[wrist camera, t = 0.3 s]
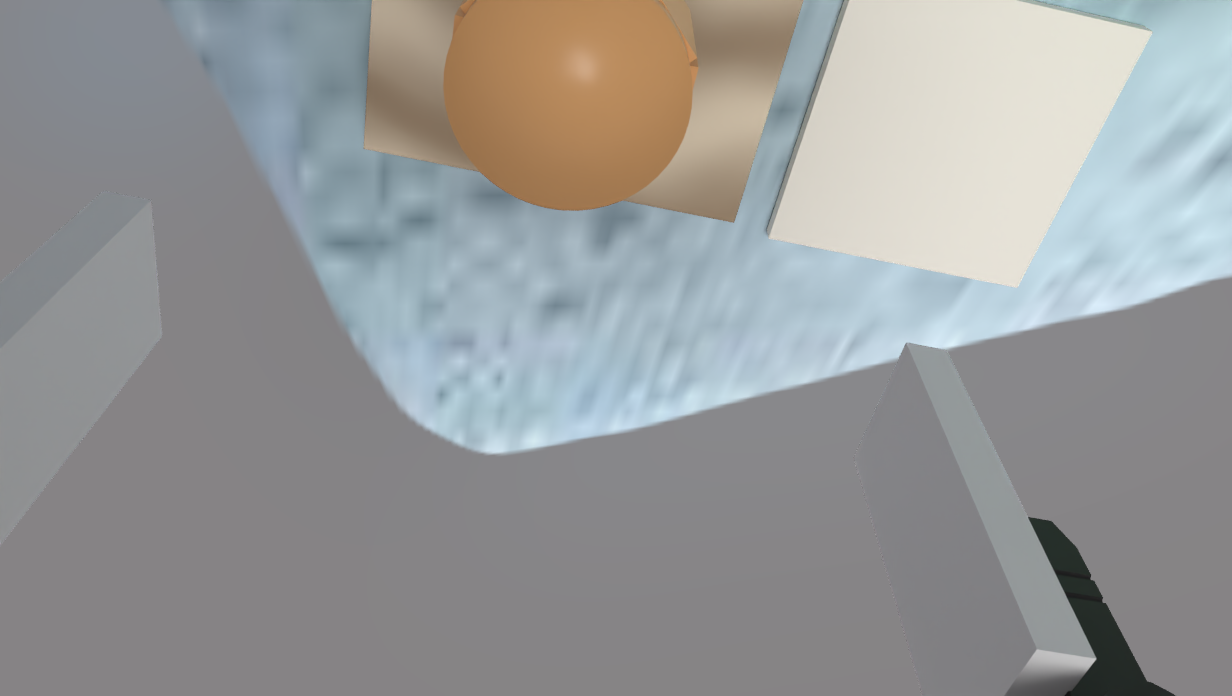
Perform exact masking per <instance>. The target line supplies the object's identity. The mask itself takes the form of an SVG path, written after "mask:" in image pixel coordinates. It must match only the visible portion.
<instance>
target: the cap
mask: <svg viewBox="0 0 1232 696" xmlns="http://www.w3.org/2000/svg"><path fill="white" fill-rule="evenodd" d="M698 68H699V67H698V60H697V53H696V46H695V39H694V33H693V26H692V19H691V13H690V9H689V7H688V6H687V4H686V2H685V1H684V0H463V2H462V3H461V5H460V7H459V9H458V10H457V12H456V14H455V18H454V27H453V37H452V41H451V44H450V47H449V50H448V53H447V57H446V62H445V68H444V82H443V90H444V100H445V107H446V111H447V115H448V119H449V122H450V125H451V127H452V130H453V133H454V135H455V137H456V139H457V141H458V143H459V144H460V146H461V148H462V150H463V151H464V153H465V154H466V155H467V157H468V158H469V160H470V161H471V162H472V163H473V164H474V166H475V167H476V168H477V169H478V170H479V171H480V172H481V173H482V174H483V175H484V176H485V177H486V178H487V179H489V180H490V181H491V182H492V183H493V184H495V185H496V186H498V187H499V188H501V189H502V190H504V191H505V192H507V193H509V194H511V195H512V196H514V197H516V198H518V199H520V200H523V201H526V202H528V203H531V204H534V205H537V206H541V207H545V208H550V209H557V210H577V211H578V210H588V209H595V208H600V207H604V206H608V205H611V204H614V203H616V202H619V201H622V200H624V199H626V198H628V197H630V196H632V195H634V194H636V193H637V192H639V191H640V190H642V189H643V188H645V187H646V186H647V185H649V184H650V183H651V182H652V181H653V180H654V179H655V178H657V177H658V176H659V175H660V174H661V172H662V171H663V170H664V169H665V168H666V167H667V166H668V164H669V163H670V162H671V160H672V159H673V157H674V156H675V154H676V153H677V151H678V149H679V147H680V145H681V143H682V141H683V139H684V136H685V133H686V130H687V127H688V124H689V120H690V114H691V109H692V95H693V87H694V83H695V80H696V76H697V72H698Z"/></svg>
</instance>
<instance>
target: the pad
mask: <svg viewBox="0 0 1232 696" xmlns="http://www.w3.org/2000/svg"><path fill="white" fill-rule="evenodd" d="M1151 34H1152V31H1151V30H1149V29H1148V28H1146V27H1145V26H1142V25H1138V24H1133V23H1129V22H1125V21H1120V20H1116V19H1112V18H1107V17H1103V16H1099V15H1094V14H1090V13H1086V12H1081V11H1077V10H1073V9H1068V8H1064V7H1060V6H1055V5H1051V4H1047V3H1042V2H1038V1H1034V0H844V2H843V5H842V8H841V11H840V14H839V16H838V19H837V22H836V25H835V28H834V31H833V34H832V37H831V40H830V43H829V46H828V49H827V52H826V55H825V58H824V61H823V64H822V67H821V70H820V73H819V76H818V79H817V82H816V85H815V88H814V91H813V94H812V97H811V100H810V103H809V106H808V109H807V112H806V115H805V118H804V121H803V124H802V127H801V130H800V133H799V136H798V139H797V142H796V145H795V147H794V150H793V153H792V156H791V159H790V162H789V165H788V168H787V171H786V174H785V177H784V180H783V183H782V186H781V189H780V192H779V195H778V198H777V201H776V204H775V207H774V210H773V213H772V216H771V219H770V222H769V225H768V228H767V233H768V238H769V239H774V240H779V241H784V242H789V243H794V244H800V245H805V246H810V247H815V248H820V249H825V250H830V251H835V252H840V253H845V254H850V255H855V256H860V257H865V258H870V259H875V260H880V261H885V262H890V263H895V264H900V265H905V266H910V267H915V268H920V269H925V270H930V271H935V272H941V273H946V274H951V275H956V276H961V277H966V278H971V279H976V280H981V281H986V282H991V283H996V284H1001V285H1006V286H1011V287H1016V288H1017V287H1018V285H1019V284H1020V282H1021V280H1022V278H1023V276H1024V274H1025V272H1026V270H1027V268H1028V267H1029V265H1030V263H1031V261H1032V259H1033V257H1034V255H1035V253H1036V251H1037V250H1038V248H1039V246H1040V244H1041V242H1042V240H1043V238H1044V236H1045V234H1046V233H1047V231H1048V229H1049V227H1050V225H1051V223H1052V221H1053V219H1054V217H1055V216H1056V214H1057V212H1058V210H1059V208H1060V206H1061V204H1062V202H1063V200H1064V199H1065V197H1066V195H1067V193H1068V191H1069V189H1070V187H1071V185H1072V183H1073V182H1074V180H1075V178H1076V176H1077V174H1078V172H1079V170H1080V168H1081V166H1082V165H1083V163H1084V161H1085V159H1086V157H1087V155H1088V153H1089V151H1090V149H1091V148H1092V146H1093V144H1094V142H1095V140H1096V138H1097V136H1098V134H1099V132H1100V131H1101V129H1102V127H1103V125H1104V123H1105V121H1106V119H1107V117H1108V115H1109V114H1110V112H1111V110H1112V108H1113V106H1114V104H1115V102H1116V100H1117V98H1118V97H1119V95H1120V93H1121V91H1122V89H1123V87H1124V85H1125V83H1126V81H1127V80H1128V78H1129V76H1130V74H1131V72H1132V70H1133V68H1134V66H1135V64H1136V63H1137V61H1138V59H1139V57H1140V55H1141V53H1142V51H1143V49H1144V47H1145V46H1146V44H1147V42H1148V40H1149V38H1150V36H1151Z"/></svg>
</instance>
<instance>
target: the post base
mask: <svg viewBox="0 0 1232 696" xmlns="http://www.w3.org/2000/svg"><path fill="white" fill-rule="evenodd" d="M684 1H685V2H686V4H687V6H688V7H689V9H690V13H691V19H692V26H693V33H694V39H695V46H696V53H697V60H698V67H699V68H698V72H697V76H696V80H695V83H694V87H693V95H692V109H691V114H690V120H689V124H688V127H687V130H686V133H685V136H684V139H683V141H682V143H681V145H680V147H679V149H678V151H677V153H676V154H675V156H674V157H673V159H672V160H671V162H670V163H669V164H668V166H667V167H666V168H665V169H664V170H663V171H662V172H661V174H660V175H659V176H658V177H657V178H655V179H654V180H653V181H652V182H651V183H650V184H649V185H647V186H646V187H645V188H643V189H642V190H640V191H639V192H637V193H636V194H634V195H632V196H630V197H628V198H626V199H624V200H623V201H628V202H633V203H638V204H643V205H648V206H653V207H658V208H663V209H668V210H673V211H678V212H683V213H688V214H693V215H698V216H703V217H708V218H713V219H718V220H723V221H728V222H733V223H734V221H735V218H736V215H737V212H738V208H739V205H740V202H741V199H742V196H743V192H744V189H745V186H746V183H747V180H748V176H749V173H750V170H751V167H752V164H753V160H754V157H755V154H756V151H757V148H758V144H759V141H760V138H761V135H762V132H763V128H764V125H765V122H766V119H767V115H768V112H769V109H770V106H771V103H772V99H773V96H774V93H775V90H776V87H777V83H778V80H779V77H780V74H781V71H782V67H783V64H784V61H785V58H786V55H787V51H788V48H789V45H790V42H791V38H792V35H793V32H794V29H795V26H796V22H797V19H798V16H799V13H800V10H801V6H802V3H803V0H684ZM462 2H463V0H372V7H371V25H370V44H369V62H368V80H367V98H366V116H365V134H364V149H368V150H373V151H378V152H383V153H388V154H393V155H398V156H403V157H408V158H413V159H418V160H423V161H428V162H433V163H438V164H443V165H448V166H453V167H458V168H463V169H468V170H473V171H478V172H480V171H479V170H478V169H477V168H476V167H475V166H474V164H473V163H472V162H471V161H470V160H469V158H468V157H467V155H466V154H465V153H464V151H463V150H462V148H461V146H460V144H459V143H458V141H457V139H456V137H455V135H454V133H453V130H452V127H451V125H450V122H449V119H448V115H447V111H446V107H445V100H444V90H443V82H444V68H445V62H446V57H447V53H448V50H449V47H450V44H451V41H452V37H453V27H454V18H455V14H456V12H457V10H458V9H459V7H460V5H461V3H462Z"/></svg>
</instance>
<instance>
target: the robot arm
mask: <svg viewBox="0 0 1232 696" xmlns="http://www.w3.org/2000/svg"><path fill="white" fill-rule="evenodd" d="M161 337H162V326H161V314H160V302H159V289H158V276H157V264H156V252H155V239H154V226H153V214H152V202H151V200H150V199H144V198H139V197H134V196H128V195H123V194H118V193H113V192H107V191H103V192H102V193H101V194H99V195H98V196H97V197H96V198H95V199H94V200H93V201H91V202H90V203H89V204H88V205H87V206H86V207H85V208H83V209H82V210H81V211H80V212H79V213H78V214H77V215H75V216H74V217H73V218H72V219H71V220H70V221H69V222H68V223H66V224H65V225H64V226H63V227H62V228H61V229H60V230H58V231H57V232H56V233H55V234H54V235H53V236H52V237H51V238H49V239H48V240H47V241H46V242H45V243H44V244H43V245H41V246H40V247H39V248H38V249H37V250H36V251H35V252H33V253H32V254H31V255H30V256H29V257H28V258H27V259H25V260H24V261H23V262H22V263H21V264H20V265H19V266H18V267H16V268H15V269H14V270H13V271H12V272H11V273H10V274H8V275H7V276H6V277H5V278H4V279H3V280H2V281H1V282H0V545H1V544H2V543H3V542H4V540H5V539H6V538H7V536H8V535H9V534H10V533H11V531H12V530H13V528H14V527H15V526H16V524H17V523H18V522H19V521H20V520H21V518H22V517H23V515H24V514H25V513H26V512H27V510H28V509H29V508H30V507H31V505H32V504H33V503H34V501H35V500H36V499H37V498H38V496H39V495H40V494H41V492H42V491H43V490H44V489H45V487H46V486H47V485H48V483H49V482H50V481H51V479H52V478H53V477H54V476H55V474H56V473H57V472H58V470H59V469H60V468H61V467H62V465H63V464H64V463H65V461H66V460H67V459H68V458H69V456H70V455H71V454H72V452H73V451H74V450H75V448H76V447H77V446H78V445H79V443H80V442H81V441H82V439H83V438H84V437H85V436H86V434H87V433H88V431H89V430H90V429H91V428H92V426H93V425H94V424H95V423H96V421H97V420H98V419H99V417H100V416H101V415H102V414H103V412H104V411H105V410H106V408H107V407H108V406H109V404H110V403H111V402H112V401H113V399H114V398H115V397H116V395H117V394H118V393H119V392H120V390H121V389H122V388H123V386H124V385H125V384H126V383H127V381H128V380H129V379H130V377H131V376H132V375H133V373H134V372H135V371H136V370H137V368H138V367H139V366H140V364H141V363H142V362H143V361H144V359H145V358H146V357H147V355H148V354H149V353H150V351H151V350H152V349H153V348H154V346H155V345H156V344H157V342H158V341H159V340H160V339H161ZM854 461H855V465H856V468H857V471H858V475H859V478H860V482H861V485H862V489H863V492H864V496H865V499H866V502H867V506H868V509H869V513H870V516H871V520H872V523H873V527H874V531H875V534H876V537H877V541H878V544H879V548H880V551H881V554H882V558H883V562H884V565H885V568H886V572H887V576H888V579H889V583H890V586H891V589H892V593H893V596H894V600H895V603H896V606H897V610H898V613H899V617H900V621H901V624H902V628H903V631H904V634H905V638H906V641H907V645H908V648H909V652H910V655H911V659H912V662H913V666H914V669H915V673H916V676H917V679H918V682H919V686H920V690H921V693H922V696H1175V695H1174V694H1172V693H1170V692H1169V691H1167V690H1165V689H1163V688H1161V687H1159V686H1157V685H1155V684H1153V683H1151V682H1147V680H1146V679H1145V677H1144V675H1143V673H1142V671H1141V669H1140V667H1139V665H1138V663H1137V662H1136V660H1135V658H1134V656H1133V654H1132V652H1131V650H1130V649H1129V646H1128V644H1127V642H1126V641H1125V639H1124V637H1123V635H1122V633H1121V631H1120V629H1119V627H1118V625H1117V623H1116V622H1115V620H1114V618H1113V616H1112V614H1111V612H1110V610H1109V608H1108V606H1107V605H1106V603H1103V602H1102V599H1103V597H1102V595H1101V593H1100V591H1099V589H1098V587H1097V585H1096V584H1095V582H1094V581H1093V580H1090V577H1091V574H1090V572H1089V570H1088V568H1087V566H1086V565H1085V563H1084V561H1083V559H1082V557H1081V555H1080V553H1079V551H1078V549H1077V548H1076V547H1075V545H1074V544H1073V543H1072V542H1071V541H1070V540H1069V539H1068V538H1067V537H1066V536H1065V535H1064V534H1063V533H1062V532H1061V531H1060V530H1059V529H1058V528H1057V527H1056V525H1054V523H1053V522H1051V521H1048V520H1042V519H1036V518H1030V517H1027V515H1026V513H1025V510H1024V508H1023V506H1022V504H1021V502H1020V500H1019V498H1018V496H1017V494H1016V492H1015V490H1014V488H1013V486H1012V484H1011V482H1010V479H1009V477H1008V475H1007V474H1006V471H1005V469H1004V467H1003V465H1002V463H1001V461H1000V459H999V457H998V455H997V453H996V451H995V449H994V447H993V444H992V443H991V440H990V438H989V436H988V434H987V432H986V430H985V428H984V426H983V424H982V422H981V420H980V418H979V416H978V414H977V412H976V409H975V407H974V405H973V403H972V401H971V399H970V397H969V395H968V393H967V391H966V389H965V387H964V385H963V383H962V381H961V379H960V377H959V374H958V372H957V370H956V368H955V366H954V364H953V362H952V360H951V358H950V356H949V354H948V352H947V350H943V349H938V348H933V347H927V346H922V345H917V344H912V343H906V344H905V346H904V348H903V350H902V353H901V355H900V357H899V359H898V361H897V364H896V366H895V368H894V370H893V372H892V375H891V377H890V379H889V381H888V383H887V385H886V388H885V390H884V392H883V394H882V396H881V399H880V401H879V403H878V405H877V407H876V410H875V412H874V414H873V416H872V418H871V420H870V423H869V425H868V427H867V429H866V432H865V434H864V436H863V438H862V440H861V442H860V444H859V447H858V449H857V451H856V453H855V455H854Z"/></svg>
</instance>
